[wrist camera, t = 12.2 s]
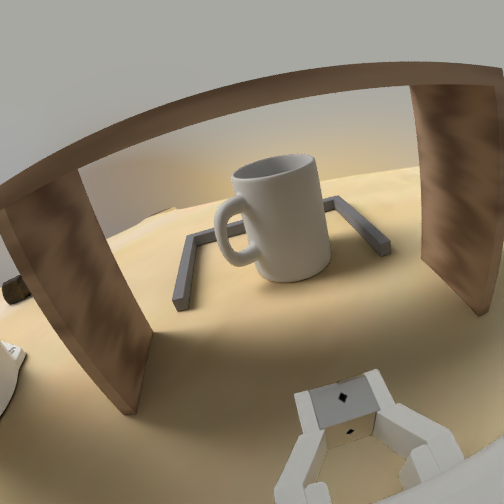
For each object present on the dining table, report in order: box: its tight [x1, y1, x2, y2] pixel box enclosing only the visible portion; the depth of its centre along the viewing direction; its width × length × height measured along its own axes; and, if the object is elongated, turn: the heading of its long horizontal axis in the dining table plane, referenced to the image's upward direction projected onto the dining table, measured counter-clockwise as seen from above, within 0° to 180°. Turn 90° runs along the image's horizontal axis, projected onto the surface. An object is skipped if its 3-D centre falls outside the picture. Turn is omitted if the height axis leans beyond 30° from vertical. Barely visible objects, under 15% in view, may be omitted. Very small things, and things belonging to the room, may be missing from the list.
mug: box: [214, 154, 331, 283], centre depth 31 cm, size 12×8×11 cm
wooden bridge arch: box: [0, 62, 504, 415], centre depth 20 cm, size 10×30×18 cm, turn 96°
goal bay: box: [172, 196, 391, 311], centre depth 37 cm, size 16×23×2 cm
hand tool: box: [2, 275, 31, 304], centre depth 46 cm, size 19×4×5 cm, turn 110°
